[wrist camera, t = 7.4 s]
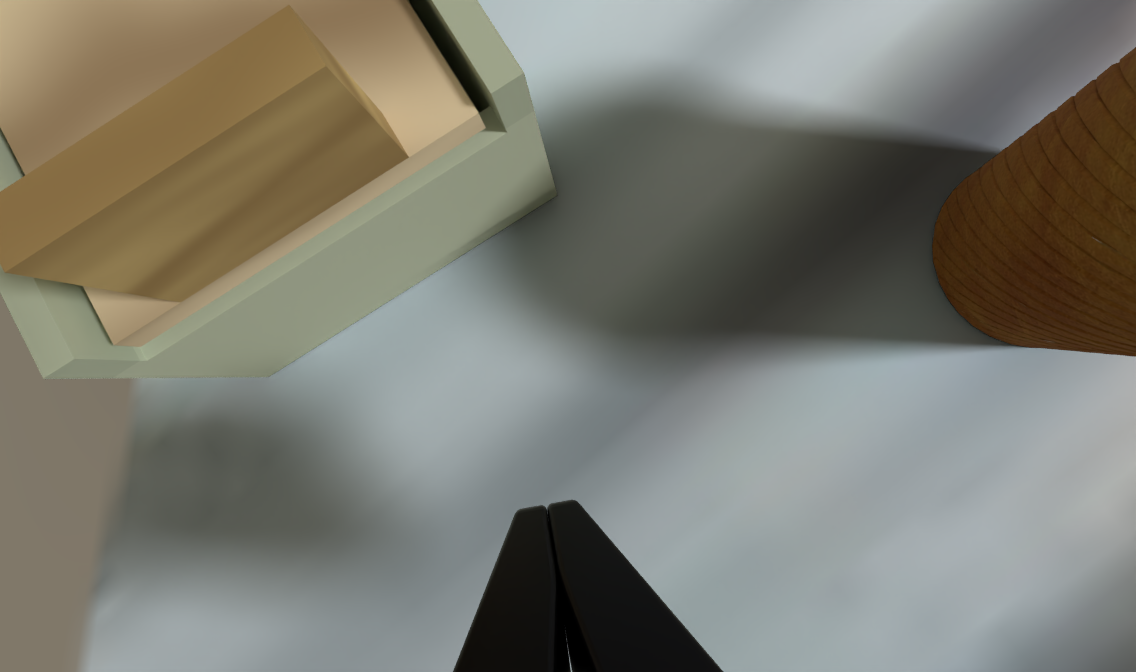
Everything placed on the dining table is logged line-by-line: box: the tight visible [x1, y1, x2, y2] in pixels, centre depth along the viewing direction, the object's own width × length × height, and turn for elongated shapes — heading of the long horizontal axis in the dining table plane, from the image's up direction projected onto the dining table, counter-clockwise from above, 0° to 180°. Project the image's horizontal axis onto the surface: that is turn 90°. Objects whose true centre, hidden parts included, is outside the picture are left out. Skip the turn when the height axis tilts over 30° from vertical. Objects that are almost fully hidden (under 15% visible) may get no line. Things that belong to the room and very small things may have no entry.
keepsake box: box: [0, 0, 557, 379], centre depth 15 cm, size 10×12×8 cm
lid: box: [0, 0, 486, 347], centre depth 11 cm, size 9×10×4 cm
